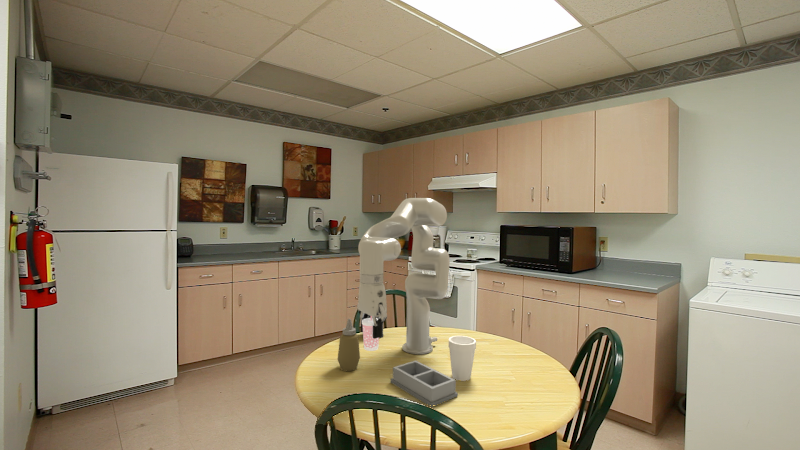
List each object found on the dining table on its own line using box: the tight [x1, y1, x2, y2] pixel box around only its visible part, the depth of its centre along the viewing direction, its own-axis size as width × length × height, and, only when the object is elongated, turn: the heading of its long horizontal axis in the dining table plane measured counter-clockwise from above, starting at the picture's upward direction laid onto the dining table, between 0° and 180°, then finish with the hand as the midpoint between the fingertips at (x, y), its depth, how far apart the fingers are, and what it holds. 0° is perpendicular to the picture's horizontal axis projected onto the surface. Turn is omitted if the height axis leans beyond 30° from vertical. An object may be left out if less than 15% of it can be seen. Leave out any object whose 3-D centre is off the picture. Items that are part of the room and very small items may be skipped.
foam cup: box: [448, 335, 477, 382], centre depth 132 cm, size 10×9×13 cm
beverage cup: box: [362, 316, 380, 352], centre depth 121 cm, size 6×6×14 cm
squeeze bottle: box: [337, 318, 361, 372], centre depth 137 cm, size 8×8×18 cm
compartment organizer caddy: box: [390, 360, 459, 408], centre depth 122 cm, size 20×11×5 cm, turn 38°
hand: (371, 333), depth 121 cm, fingers closed on beverage cup, 6 cm apart
